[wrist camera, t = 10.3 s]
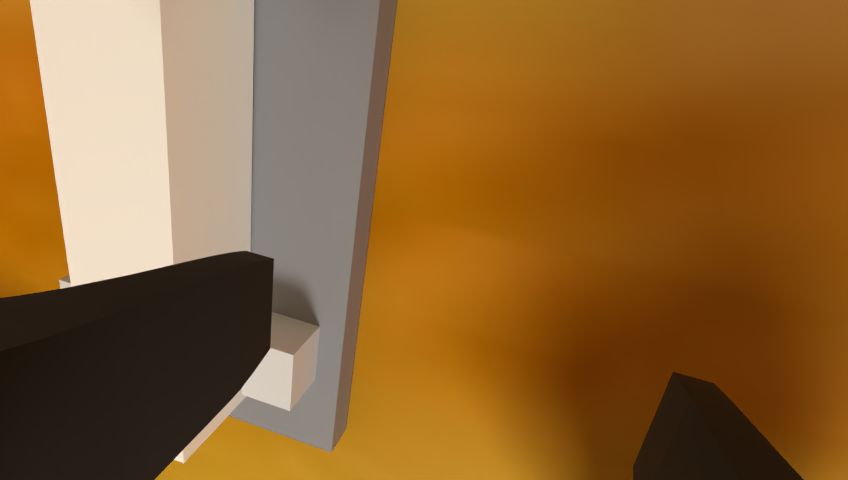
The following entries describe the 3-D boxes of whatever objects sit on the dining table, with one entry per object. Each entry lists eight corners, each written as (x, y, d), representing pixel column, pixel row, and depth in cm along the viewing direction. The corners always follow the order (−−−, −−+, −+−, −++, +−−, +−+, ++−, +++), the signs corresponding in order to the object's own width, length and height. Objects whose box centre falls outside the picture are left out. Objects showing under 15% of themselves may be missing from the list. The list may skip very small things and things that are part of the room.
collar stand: (345, 428, 24) (308, 488, 20) (121, 351, 26) (57, 394, 23) (428, -262, 14) (382, -347, 11) (60, -283, 16) (-64, -358, 13)
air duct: (249, 393, 22) (184, 464, 19) (167, 365, 23) (89, 428, 20) (261, -231, 14) (143, -324, 10) (129, -242, 15) (-22, -331, 11)
